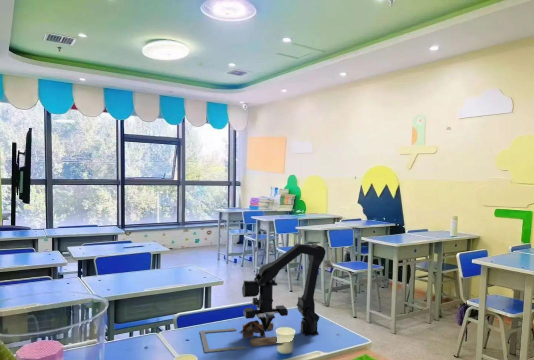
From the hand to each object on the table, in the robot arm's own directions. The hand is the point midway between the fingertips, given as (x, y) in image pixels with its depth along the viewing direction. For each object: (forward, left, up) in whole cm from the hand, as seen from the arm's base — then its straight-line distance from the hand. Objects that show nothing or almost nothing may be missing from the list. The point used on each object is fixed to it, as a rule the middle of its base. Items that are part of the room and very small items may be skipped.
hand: (265, 331), depth 163 cm
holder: (+1, 0, -2) cm, 2 cm away
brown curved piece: (+5, +1, -2) cm, 6 cm away
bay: (+18, 0, -2) cm, 18 cm away
